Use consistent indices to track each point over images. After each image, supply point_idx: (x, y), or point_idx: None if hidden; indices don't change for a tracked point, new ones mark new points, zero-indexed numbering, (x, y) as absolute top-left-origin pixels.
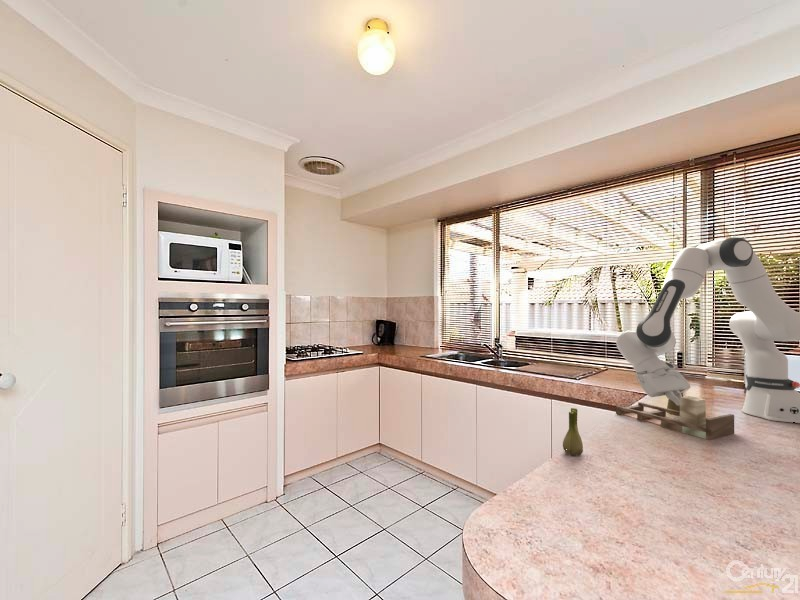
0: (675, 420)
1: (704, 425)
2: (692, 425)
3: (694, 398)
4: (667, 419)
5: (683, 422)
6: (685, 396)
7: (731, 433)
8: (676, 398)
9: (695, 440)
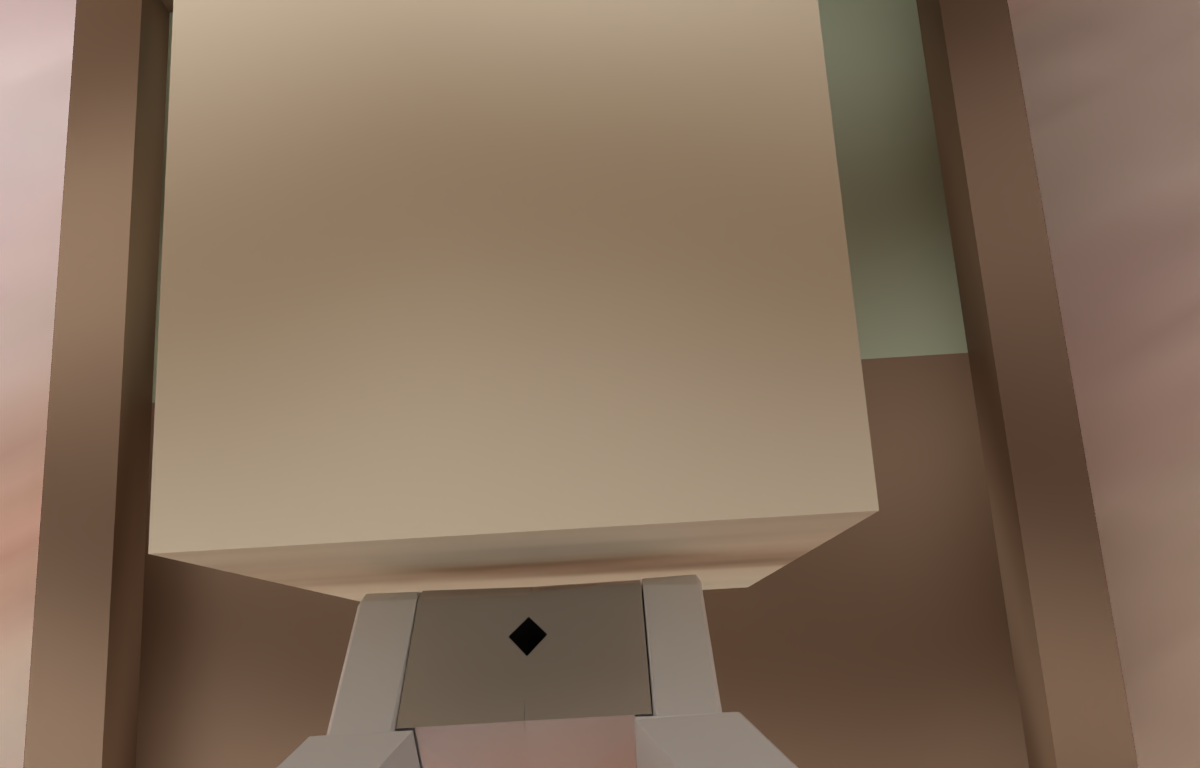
0: (1035, 506)
1: None
2: (1027, 137)
3: (452, 148)
4: (1114, 660)
5: (1005, 336)
6: (417, 529)
7: None
8: (757, 736)
9: (1187, 44)
